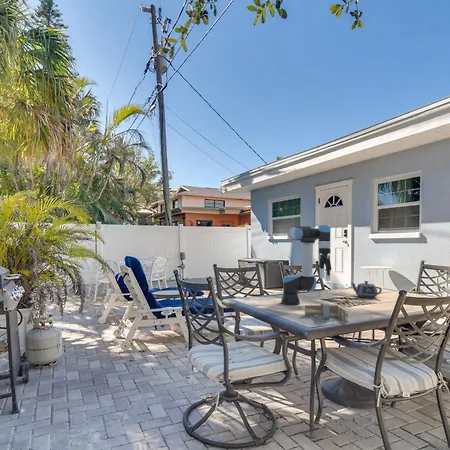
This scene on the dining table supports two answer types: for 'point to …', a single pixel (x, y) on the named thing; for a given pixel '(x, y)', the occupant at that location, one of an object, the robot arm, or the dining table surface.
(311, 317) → the mat
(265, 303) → the dining table surface
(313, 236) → the robot arm
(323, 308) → the angle block
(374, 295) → the teapot
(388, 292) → the dining table surface
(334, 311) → the wooden corner frame
